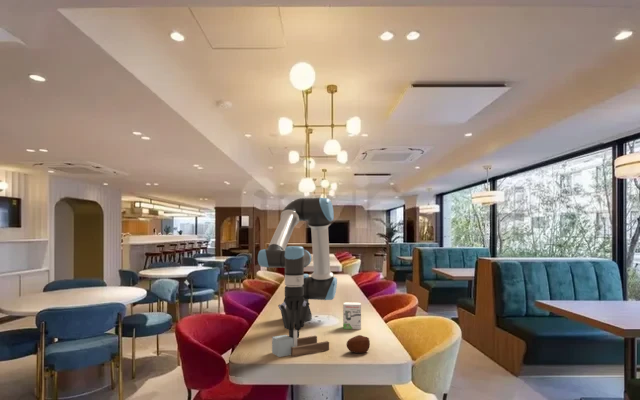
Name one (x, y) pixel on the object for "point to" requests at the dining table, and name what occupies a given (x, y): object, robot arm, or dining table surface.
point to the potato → (358, 344)
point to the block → (282, 345)
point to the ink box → (351, 315)
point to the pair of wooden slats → (308, 346)
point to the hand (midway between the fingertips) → (294, 346)
